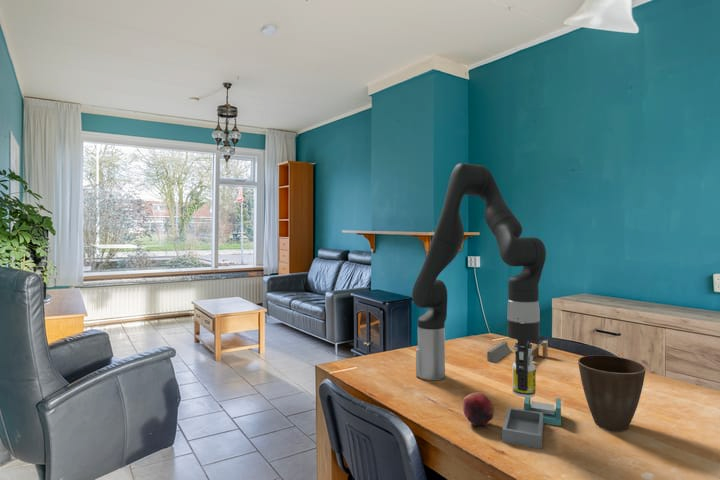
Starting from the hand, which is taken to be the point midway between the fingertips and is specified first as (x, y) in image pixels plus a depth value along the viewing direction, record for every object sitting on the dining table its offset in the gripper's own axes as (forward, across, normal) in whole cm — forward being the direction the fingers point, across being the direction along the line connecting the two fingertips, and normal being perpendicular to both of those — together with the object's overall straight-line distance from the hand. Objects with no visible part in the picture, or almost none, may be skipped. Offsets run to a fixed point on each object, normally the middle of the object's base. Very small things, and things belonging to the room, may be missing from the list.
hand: (523, 385), depth 107 cm
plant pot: (+12, -13, +20) cm, 27 cm away
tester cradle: (+12, -11, +4) cm, 17 cm away
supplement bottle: (+2, 0, 0) cm, 2 cm away
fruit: (+12, 0, -11) cm, 16 cm away
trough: (+12, 0, 0) cm, 12 cm away
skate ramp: (+13, -62, -2) cm, 63 cm away
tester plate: (+10, -11, +4) cm, 15 cm away
